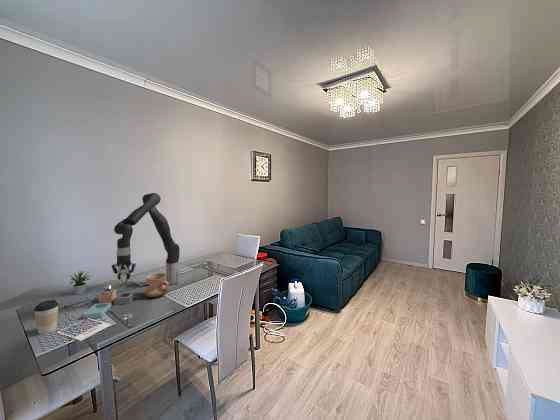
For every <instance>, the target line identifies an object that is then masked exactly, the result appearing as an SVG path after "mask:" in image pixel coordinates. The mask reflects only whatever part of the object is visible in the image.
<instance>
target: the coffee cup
mask: <svg viewBox="0 0 560 420" xmlns="http://www.w3.org/2000/svg"><path fill="white" fill-rule="evenodd" d="M59 305H60V304H59V302H58V301H56V299H52V300H50V299H49V300H45V301H42V302H39V303H38V304H37V305H36V306H35V307H34V308H33V312H34V317H35V324H36V328H37V333H38V334H39V335H44V334H49V333H52V332H54V331H55V330H57V326H58V317H59V315H58V314H59Z"/></svg>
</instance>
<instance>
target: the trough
mask: <svg viewBox="0 0 560 420" xmlns="http://www.w3.org/2000/svg"><path fill="white" fill-rule="evenodd" d="M110 308H112V302H110V303H95V304H93V305H92V306H91V307H90V308H88V310H87V311H85V312H83V314H82V320H85V318H90V319H95V318H96V319H97V317H98V318H102V317H103V316H104V314H105V313H106V312H107V311H108V310H109V309H110Z"/></svg>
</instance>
